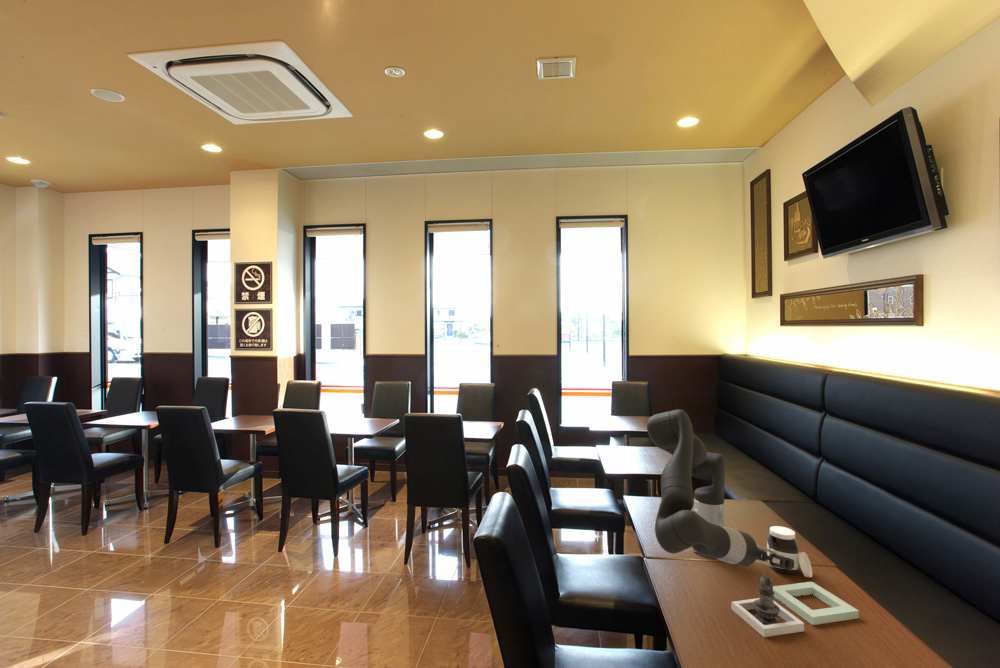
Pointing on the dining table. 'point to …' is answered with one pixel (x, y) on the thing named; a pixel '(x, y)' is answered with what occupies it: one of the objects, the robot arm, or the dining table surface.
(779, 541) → the spread jar
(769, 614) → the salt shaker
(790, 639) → the dining table surface
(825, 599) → the light green square frame
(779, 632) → the white square frame
